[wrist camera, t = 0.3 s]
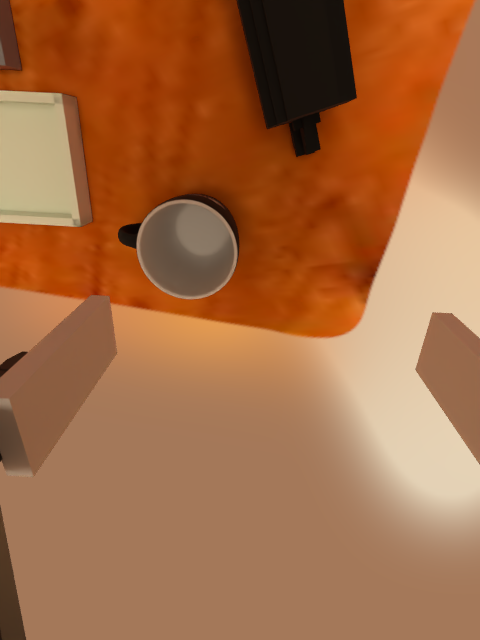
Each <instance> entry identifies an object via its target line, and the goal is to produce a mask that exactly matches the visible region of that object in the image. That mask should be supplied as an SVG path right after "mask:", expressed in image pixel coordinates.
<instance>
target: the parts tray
mask: <svg viewBox="0 0 480 640" xmlns="http://www.w3.org/2000/svg"><path fill="white" fill-rule="evenodd" d="M92 221H93V219H92V212H91V204H90V197H89V189H88V181H87V174H86V166H85V158H84V151H83V143H82V135H81V128H80V120H79V113H78V105H77V97H74V96H70V95H66V94H62V93H42V92H21V91H1V90H0V222H5V223H22V224H40V225H57V226H74V227H82V226H84V225H86V224H88V223H90V222H92Z"/></svg>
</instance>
